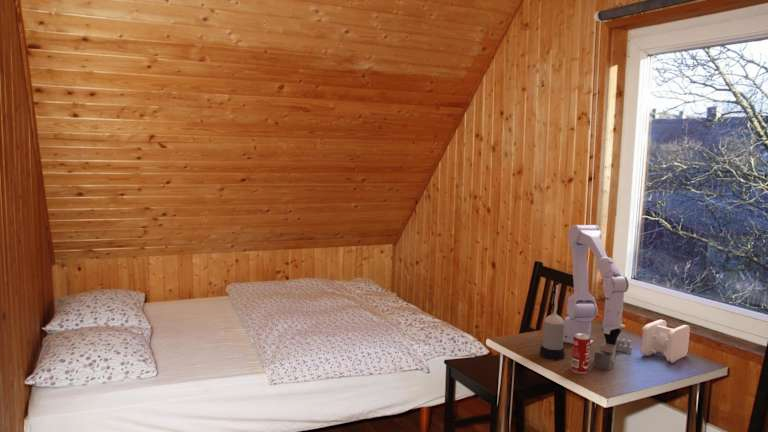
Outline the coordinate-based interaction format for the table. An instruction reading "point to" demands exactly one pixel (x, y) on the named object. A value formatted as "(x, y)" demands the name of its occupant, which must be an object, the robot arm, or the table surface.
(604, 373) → the table surface
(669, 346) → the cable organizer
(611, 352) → the dark grey rod
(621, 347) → the cable comb
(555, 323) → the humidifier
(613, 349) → the grey slotted cube
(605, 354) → the block
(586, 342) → the soda can
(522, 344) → the table surface
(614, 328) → the robot arm
